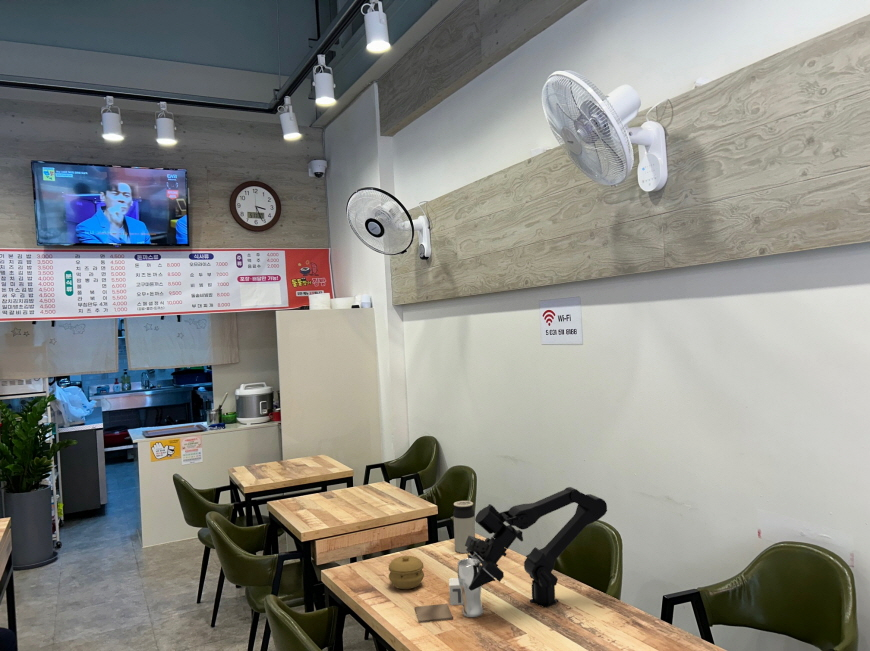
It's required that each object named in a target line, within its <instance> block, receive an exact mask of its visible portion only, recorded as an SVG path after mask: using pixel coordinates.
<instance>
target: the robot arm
mask: <svg viewBox="0 0 870 651" xmlns="http://www.w3.org/2000/svg"><path fill="white" fill-rule="evenodd" d="M573 503H575V504H577V506H576V510H575V512H574V515H573V516H572V517H571V518H570V519H569V520H568V521H567V522H566V524H564V526H563V527H561V529H560V530H559V531H558V532H557V533H556V534H555V535H554V537H553V538H552V539H551V540H550V541H549V542H548V543H547V544H546V545H545V546H544V547H543V548H541V549H538V547H534V548H533V549H532V550H531V551H530V552H529V554H527V555H525V557H526V558H525V560H524V562H523V564H524V565H523V568H524V570H525V572H526V573H527V574H528V575H529V577H530V579H532V580H531V581H532V582H531V599H529V603H532V604H533V605H537V606H539V605H540V606H539V607H542V606H543V607H542V608H545V607H546V608H549V607H550V605H551V606H553V605H555V604H557V603H559V600H560V599H557V598H556V592H555V591H556V589H555V588H556V587H555V586H557V583H558V577H557V576H556V575H555V574H554V573H552V572H553V570H554V568H555V565H556V561H557V559H558V558H560V557H559V556H560V555H562V554H563V552H564V551H565V550H566V549H567V548H568V546H570V545H571V544H572V542H573V541H575V540H576V538H577V537H578V536H579V535H580V534H581V533H582V531H583V530H584V529H585V528H586V527H587V526H589V525H591V524H593V523H595V522H598V521H599V520H600V519H601V518H602V517H603V516H604V517H605V515H606V514H607V512H608V509H607V508H608V505H607V502H606V500H604V499H603V498H601V497H599V496H596V495H595V494H589V493H588V494H584V493H583V492H582V491H581V492H580V490H578V489H577V488H574V487H572V486H568V487H566V488H564V489H562V490H560V491H557V492H556V493H554V494H551V495H549V496H546V497H544V498H541V499H540V500H537V501H536V502H535V501H534V502H531V503H521V504H516V505H513V506H511V507H510V508H509V509H508V510H504V511H500V512H499V511H498V509H496V508H495V506H494V505H492V504H490V503H489V504H488V505H487V506H485V507H483V508H482V509H480V510H479V511H478V512H477V513H476V515H475V517H474V521H475V523H477V524H478V525H479V526H480V527H481V528H482V529H483V530H484V531H485V532H486V533H488V534H490V535H491V534H493V535H492V536H491V537H490V538H489V537H487V538H485V539H481V538H478V537H476V536H475V537H472V536H468V538H467V541H466V543H465V546H467V549H466V550H467V551H468V553H466V554H467V555H466V556H467V559H468V558H474V559H478V560H479V561H480V566H479V565H478V573H477V575H476V577H475V578H474V580H473V581H472V583H471V585H470V586H469V589H470V590H471V591H472V590H474V589H476V588H478V587H480V586H484V585H487V584H490V583H492V582H496V580H497V581H498V582H499V583H500V582H501V581H502V580H503V578H504V577H505V575H504V571H503V570H502V569H500V568H499V565H498V564H497V563H498V562H499V561H500V559H501V558H502V557H506V556H507V555H508V553H507V552H506V551H507V550H508V549H509V548H510V546H512V544H513V543H514V542H515V541H516V539H517V540H519V541H520V542H524V537H523V531H522V530H527V529H528V528H531V527H532V526H533V525H534V524H536V523H537V522H538V520H539V519H541V518H542V517H544V516H546V515H549V514H550V513H552V512H555V511H557V510H559V509H562V508H564V507H567V506H568V505H571V504H573ZM505 523H506V524H508V525H506V524H505ZM515 527H516V528H517V529H518V530H517V529H516V528H515Z"/></svg>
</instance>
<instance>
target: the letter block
mask: <svg viewBox="0 0 870 651" xmlns="http://www.w3.org/2000/svg"><path fill="white" fill-rule="evenodd" d="M448 584H449V585H448V586H449V589H448V592H449V593H448V594H449V606H460V605H461V606H463V598H462V594H461V590H460V586H459V581H458V577H453V578H452V577H450V578H449V582H448Z"/></svg>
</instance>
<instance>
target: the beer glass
mask: <svg viewBox="0 0 870 651" xmlns="http://www.w3.org/2000/svg"><path fill="white" fill-rule="evenodd" d="M478 565H479V566H480V565H481V564H480V561H479V560H478V559H474V558H468V557H467V558H464V559H460V560H459V561H458V560H457V578H458V581H459V586H460V590H461V594H462V598H463V605H462V615H463V616H464V617H466V618H477V617H481V616H482V615H483V614H484V608H483V605H482V596H481V595H482V586H483V585H482V586H480V587H478V588H476V589H474V590H472V591H471V590H470V589H469V586H470V585H471V583H472V581H473V580H474V578H475V577H476V575H477V573H478Z"/></svg>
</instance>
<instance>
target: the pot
mask: <svg viewBox="0 0 870 651" xmlns="http://www.w3.org/2000/svg"><path fill="white" fill-rule="evenodd" d="M423 569H424V562H423V561H422V560H421V558H418V557H417V556H414V555H413V556H412V555H402V556H401V555H400V556H397V557H395V558H394V559H393V560H391V561H390V563H389V564H388V571H389V573H388V579H389V581H390V582H391V584H392V585H393V586H394V587H395V588H398V589H401V590H409V589H410V590H411V589H414V588H417V587H418V586H419V585H420V584H421V583H422V581H423V579H424V576H425V572H424V571H423Z"/></svg>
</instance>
